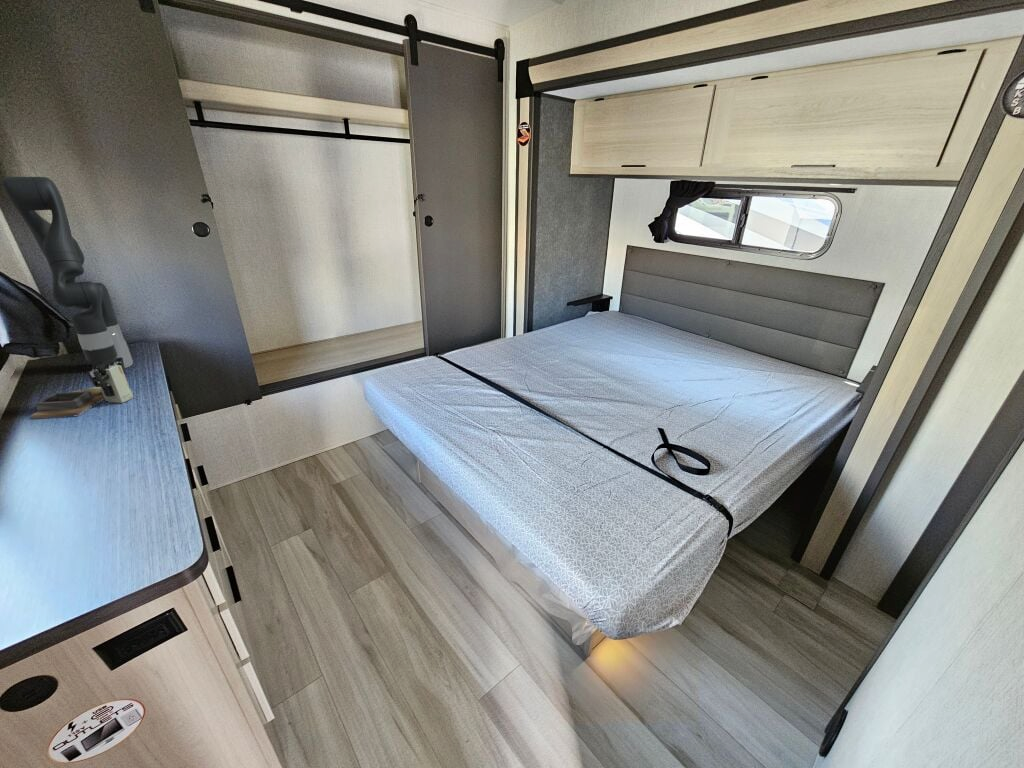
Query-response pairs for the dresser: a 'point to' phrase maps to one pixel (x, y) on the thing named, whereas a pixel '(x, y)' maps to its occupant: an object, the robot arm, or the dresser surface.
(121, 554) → the dresser surface
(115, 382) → the skincare box
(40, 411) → the carrier plate
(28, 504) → the dresser surface
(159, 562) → the dresser surface
